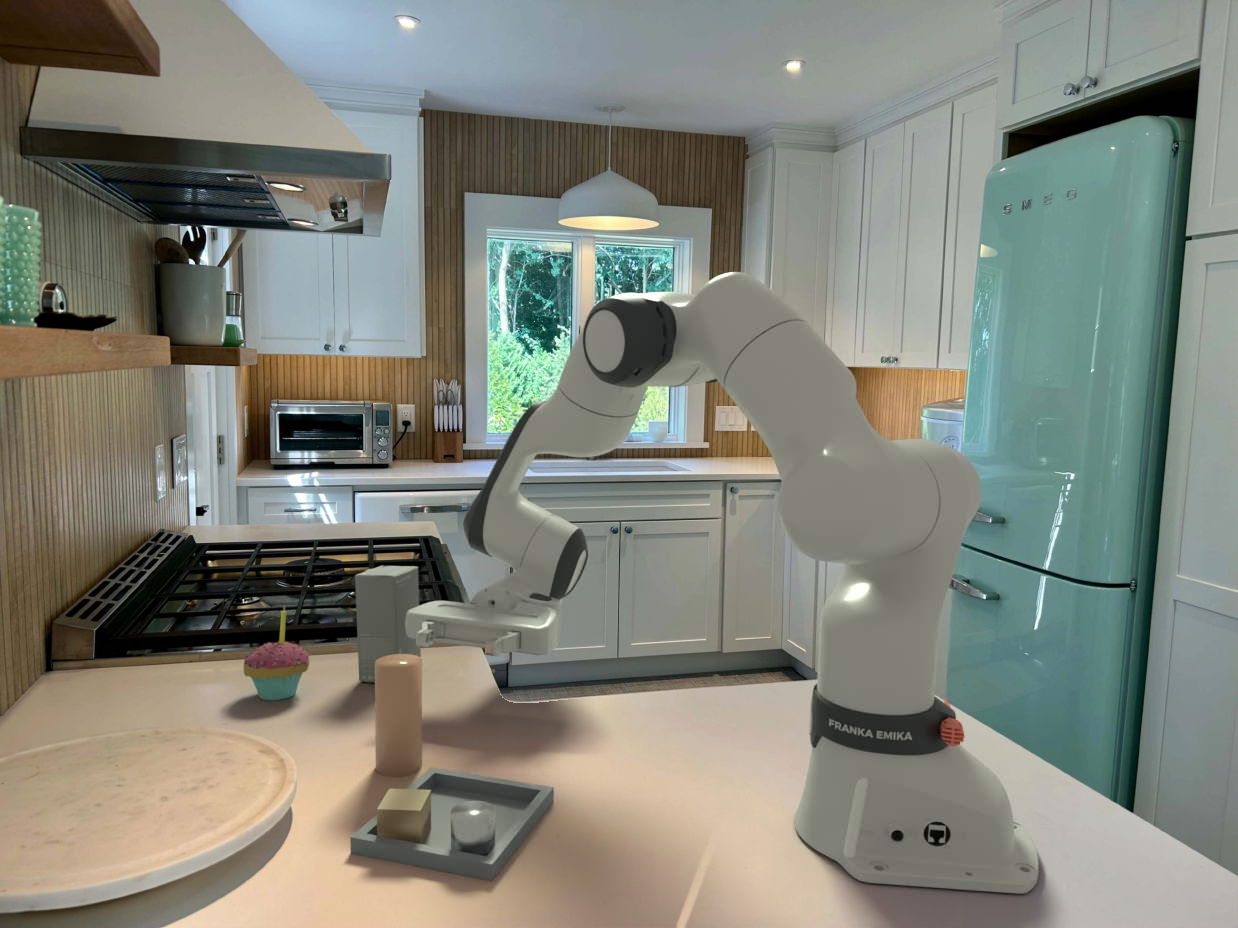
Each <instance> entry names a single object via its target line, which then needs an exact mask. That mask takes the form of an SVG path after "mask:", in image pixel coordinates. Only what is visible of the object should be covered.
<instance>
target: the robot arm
mask: <svg viewBox="0 0 1238 928" xmlns="http://www.w3.org/2000/svg"><path fill="white" fill-rule="evenodd" d="M716 382H718V383H719V384H720V386H721V387H722V389H723V390H724V391H725V392H726V394H727V395H728V396H729V398H730V399H731V400H732V401H733V403H734V404H735V405H736V406H737V407H738V409H739V410H740V411H741V413H742V414H743V416H744V417H745V418H746V419H747V421H748V422H749V423H750V425H751V426H752V427H753V428H754V430H755V431H756V432H757V434H758V435H759V436H760V439H762V441H763V442H764V444H765V446H766V447H767V450H768V451H769V453H770V455H771V457H772V460H773V462H774V464H775V466H776V469H777V472H778V475H779V478H780V480H781V485H780V488H779V492H778V497H777V498H778V499H777V500H778V502H777V510H778V517H779V520H780V525H781V527H782V529H783V532H784V534H785V536H786V537H787V539H788V541H789V542H791V544H792V545H793V547H795V548H796V549H797V550H798V551H799V552H800V553H802V554H803V555H804V556H806V557H808V558H811V559H813V560H816V561H819V562H824V563H833V564H841V565H842V564H843V569H842V571H841V573H840V575H839V576H840V577H839V580H838V581H837V584H836V586H835V587H834V589H833V591H832V593H831V594H830V595H829V597H828V598H827V599H826V601H825V603H824V605H823V607H822V610H821V612H820V613H821V614H820V618H819V639H818V656H817V657H818V662H817V677H816V679H817V682H816V683H815V685H814V686H813V690H812V695H811V697H810V705H809V707H810V708H809V728H808V729H809V731H808V732H809V734H808V736H809V735H810V737H809V740H810V744H811V752H810V757H809V763H808V768H807V769H808V770H807V775H806V777H805V778H806V779H805V783H804V787H803V791H802V794H801V798H800V801H799V804H798V807H797V809H796V812H795V814H794V818H793V824H794V828H795V830H796V832H797V834H798V835H799V836H800V838H801V839H802V840H803V841H804V842H805V843H806V844H808V846H810V847H811V848H813V849H814V850H815V851H817V852H819V853H821V854H822V855H825V857H828V858H830V859H832V860H833V861H835V862H837V863H838V864H839V865H840V866H841V867H842V868H843V869H844V870H845V871H846V872H847V873H848V874H850V876H852V877H853V878H855V879H856V880H858V881H860V882H862V883H863V882H864V883H868V884H882V885H884V884H885V885H893V886H895V885H896V886H897V885H898V886H906V887H907V886H909V887H924V888H935V889H936V888H937V889H951V890H963V891H964V890H965V891H977V892H993V893H1003V894H1005V893H1008V894H1027V893H1029V892H1030V891H1031V890H1033V889H1034V887H1035V886H1036V884H1037V883H1038V879H1039V877H1040V875H1039V874H1040V870H1039V869H1040V868H1039V867H1040V865H1039V863H1040V862H1039V855H1038V852H1037V848H1036V845H1035V843H1034V841H1033V839H1032V837H1031V836H1030V834H1029V832H1028V831H1027V830H1026V829H1025V827H1024V826H1022V824H1021V823H1020V822H1018V821H1017V820H1016V819H1015V818H1014V815H1013V811H1012V807H1011V806H1012V805H1011V801H1010V799H1009V796H1008V794H1007V793H1008V792H1007V791H1006V789H1005V788H1004V785H1003V783H1002V782H1001V780H1000V779H999V778H998V776H997V775H996V774H995V773H994V771H993V770H991V769H990V768H989V767H987V766H986V765H985V764H984V763H983V762H981V760H979V758H977V757H975V756H974V755H973V754H972V753H971V752H969V751H968V750H967V749H966V748H965V747H964V746H962V745H961V743H963V742H964V741H965V740H964V739H965V732H964V727H963V724H962V723H961V722H960V721H959V720H958V719H957V717H956V712H955V710H954V709H952V707H951V704H950V703H949V701H948V699H946V698H944V701H943V700H941V699H939V698H938V697H936V696H935V694H936V693H935V692H936V679H937V666H938V654H939V653H938V652H939V641H940V640H939V637H940V628H941V622H942V617H943V613H944V607H945V604H946V600H947V595H948V593H949V589H950V585H951V582H952V578H953V575H954V571H955V567H956V565H957V561H958V557H959V554H960V549H961V546H962V541H963V539H964V536H965V534H966V532H967V530H968V527H969V526H970V524H971V522H972V520H973V518H975V516H976V514H977V512H978V510H979V508H980V504H981V502H982V485H981V480H980V477H979V474H978V472H977V470H976V468H975V466H974V465H973V463H972V462H971V461H970V460H969V459H968V458H967V456H965V455H964V454H963V453H961V452H960V451H959V450H956V449H954V448H952V447H950V446H947V445H945V444H942V443H939V442H936V441H933V440H930V439H925V438H907V439H906V438H903V439H894V440H890V439H887V438H886V437H884V436H882V435H881V434H880V433H879V432H877V431H876V430H875V429H874V428H873V426H872V425H871V424H870V422H869V421H868V419H867V417H866V416H865V413H864V411H863V410H862V408H861V406H860V404H859V401H858V399H857V396H856V394H857V380H856V377H855V376H854V374H853V372H852V370H850V369H849V368H848V367H847V366H846V364H845V363H844V362H843V361H842V360H841V359H840V358H839V356H838V355H837V354H836V353H835V352H834V351H833V350H832V349H831V347H829V345H828V344H827V343H826V342H825V341H824V340H823V339H822V338H821V336H819V334H818V332H816V331H815V330H814V329H813V327H811V326H810V324H809V323H808V322H807V321H806V320H805V319H804V318H803V317H802V316H801V314H799V312H797V311H796V310H795V308H793V307H792V306H791V305H790V304H789V303H788V302H787V301H786V300H785V299H783V298H782V297H781V296H780V295H779V294H778V293H776V292H775V291H774V290H773V289H771V288H770V287H769V286H768V285H766V284H765V283H763V282H762V281H761V280H759V279H758V278H756V277H755V276H753V275H751V274H748V273H746V272H741V271H732V272H726V273H722V274H720V275H717V276H714V277H713V278H712V279H710V280H709V281H706V283H704V284H703V285H702V287H700V289H699V290H698V291H697V292H696V293H695V294H693V293H685V292H684V293H683V292H676V291H651V292H644V293H643V292H642V293H637V292H623V293H620V294H615V295H612V296H609V297H607V298H605V299H602V300H600V301H598V302H597V303H595V305H594V306H592V309H591V310H590V311H589V313H588V315H587V316H586V320H585V323H584V325H583V327H582V329H581V331H580V332H579V334H578V336H577V338H576V340H575V342H574V344H573V346H572V348H571V350H570V352H569V354H568V357H567V359H566V362H565V364H564V366H563V369H562V372H561V375H560V379H559V380H558V385H557V387H556V389H555V390H554V392H553V393H552V395H551V396H550V397H549V398H548V399H547V400H537V401H535V402H534V403H532V405H530V406H529V407H528V408H527V409H526V410H525V411H524V412H523V414H521V416H520V418H519V419H518V421H517V422H516V424H515V425H514V428H513V430H512V431H511V432H510V434H509V436H508V438H507V440H506V442H505V443H504V445H503V448H502V449H501V451H500V454H499V455H498V457H497V459H496V461H495V463H494V465H493V466H492V469H491V470H490V473H489V474H488V475H487V476H488V477H487V478H486V480H485V482H484V485H483V486H482V488H481V489H480V491H479V492H478V494H477V495H476V497H475V499H474V500H473V501H472V503H471V504H470V506H469V507H468V510H467V512H466V513H465V516H464V519H463V523H462V527H463V531H464V534H465V539H466V540H467V543H468V546H469V547H470V548H471V549H472V550H475V551H477V552H479V553H481V554H484V555H486V556H488V557H490V558H494V559H496V560H497V561H500V562H501V563H503V564H506V565H507V566H509V567H510V568H513V569H514V570H515V571H512V572H511V573H509V574H508V575H506V576H505V577H503V578H502V579H498V580H496V581H494V582H492V583H491V584H489V585H487V586H486V587H484V588H482V589H480V590H479V591H477V592H476V594H474V595H473V597H472V598H471V599H470V601H469V602H468V603H467V602H459V601H450V600H433V601H428V602H426V603H425V602H424V603H423V604H419V606H417V607H414V608H412V609H410V610H408V611H407V613H406V618H405V630H406V634H407V636H408V637H409V638H412V639H416V645H417V646H420V647H425V648H429V647H430V646H432V645H433V644H434V642H435V643H443V644H444V643H445V644H452V645H458V646H466V647H474V648H482V649H485V655H486V656H492V657H499V656H500V655H501V654H506V653H519V654H526V655H532V656H546V655H550V654H551V653H552V652H553V651H554V650H555V649H556V648H557V646H558V645H559V643H560V638H561V637H560V636H561V628H562V627H561V626H562V613H561V612H562V610H561V608H562V607H561V604H562V602H563V600H564V598H565V597H567V596H568V595H570V594H571V593H572V591H573V590H574V589H575V587H576V585H578V582H579V581H580V580H581V579H580V578H581V577H582V574H583V573H584V570H585V567H586V566H587V562H588V558H589V549H588V544H587V538H586V536H585V533H584V531H583V529H582V528H580V527H578V526H577V525H576V524H573V523H571V522H570V521H568V520H567V519H565V518H562V517H561V516H559V515H557V514H554V513H552V512H550V511H548V510H547V509H544V508H542V507H540V506H539V505H537V504H536V503H534V502H531V501H530V500H528V499H526V497H524V496H523V495H522V493H521V492H520V490H519V487H520V485H521V483H522V481H523V480H524V478H525V476H526V474H527V473H528V471H529V469H530V467H531V465H532V463H533V461H534V459H535V457H536V456H537V455H543V454H546V455H547V454H549V455H551V454H552V455H558V456H568V457H572V458H592V457H598V456H602V455H605V454H608V453H610V452H612V451H614V450H615V449H617V448H619V446H621V445H622V444H623V443H624V442H625V440H626V439H627V437H628V436H629V434H630V433H631V430H632V428H633V426H634V424H635V422H636V419H637V416H638V415H639V411H640V408H641V406H642V403H643V400H644V398H645V395H646V391H647V389H648V387H650V388H651V387H655V388H656V387H658V388H659V387H661V388H662V387H663V388H664V387H667V388H680V387H687V386H692V385H693V386H694V385H698V384H703V383H709V384H710V383H711V384H712V383H716Z"/></svg>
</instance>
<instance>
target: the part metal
mask: <svg viewBox="0 0 1238 928" xmlns="http://www.w3.org/2000/svg"><path fill="white" fill-rule="evenodd" d="M494 847H495V807H494V806H493V805H492V804H490V803H488V802H484V801H468V802H463V803H460V804H458V805H456V806H455V807H454V808H453V809H452V810H451V850H455V851H460V852H466V853H471V854H476V855H482V856H487V855H488V854H489V853H490V852H491V850H492V849H493V848H494Z"/></svg>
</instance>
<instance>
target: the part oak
mask: <svg viewBox="0 0 1238 928" xmlns="http://www.w3.org/2000/svg"><path fill="white" fill-rule="evenodd" d="M376 815H377V836H382V837H387V838H392V839H397V840H403V841H408V842H413V843H418V844H425V842H426V840H427V838H428V835H429V833H430V831H431V790H419V789H407V788H388V790H387V792H386V794H385V795H384V796H383V798H382V800H381V801H380V803H379V805H378V806H377V809H376Z"/></svg>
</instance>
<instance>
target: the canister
mask: <svg viewBox="0 0 1238 928" xmlns="http://www.w3.org/2000/svg"><path fill="white" fill-rule="evenodd" d="M374 701H375V702H374V704H375V706H374V707H375V708H374V713H375V715H374V716H375V717H374V721H375V725H374V726H375V727H374V728H375V729H374V731H375V733H374V734H375V736H374V737H375V738H374V739H375V771H376V773H378V774H379V775H381V776H384V777H388V778H389V777H390V778H400V777H407V776H410V775H413V774H415V773H417V772H418V771H420V770H421V769H422V767H423V659H422V657H421V658H420V657H419V656H416V655H411V654H394V655H388V656H384V657H381V658H379V659H377V660H376V661H375V682H374Z"/></svg>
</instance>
